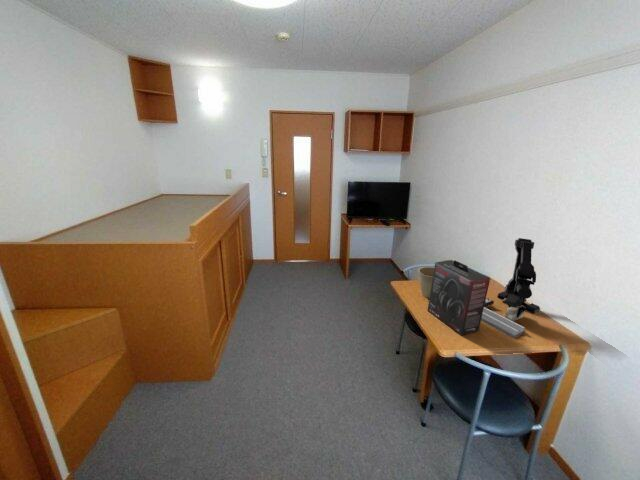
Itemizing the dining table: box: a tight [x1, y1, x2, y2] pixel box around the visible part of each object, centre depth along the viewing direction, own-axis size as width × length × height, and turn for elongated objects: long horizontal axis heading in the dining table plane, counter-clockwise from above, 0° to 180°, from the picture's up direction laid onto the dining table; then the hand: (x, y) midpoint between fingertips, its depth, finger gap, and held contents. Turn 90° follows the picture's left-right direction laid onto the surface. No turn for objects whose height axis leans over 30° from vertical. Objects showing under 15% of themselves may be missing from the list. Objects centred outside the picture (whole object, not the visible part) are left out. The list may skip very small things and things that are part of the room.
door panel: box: [504, 306, 525, 322], centre depth 154 cm, size 3×12×7 cm, turn 118°
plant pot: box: [418, 266, 434, 299], centre depth 175 cm, size 15×15×16 cm
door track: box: [481, 307, 526, 339], centre depth 150 cm, size 10×24×4 cm, turn 28°
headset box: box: [427, 259, 491, 336], centre depth 147 cm, size 24×13×33 cm, turn 21°
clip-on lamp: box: [484, 297, 495, 308], centre depth 168 cm, size 12×6×18 cm
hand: (514, 315), depth 154 cm, fingers closed on door panel, 3 cm apart
